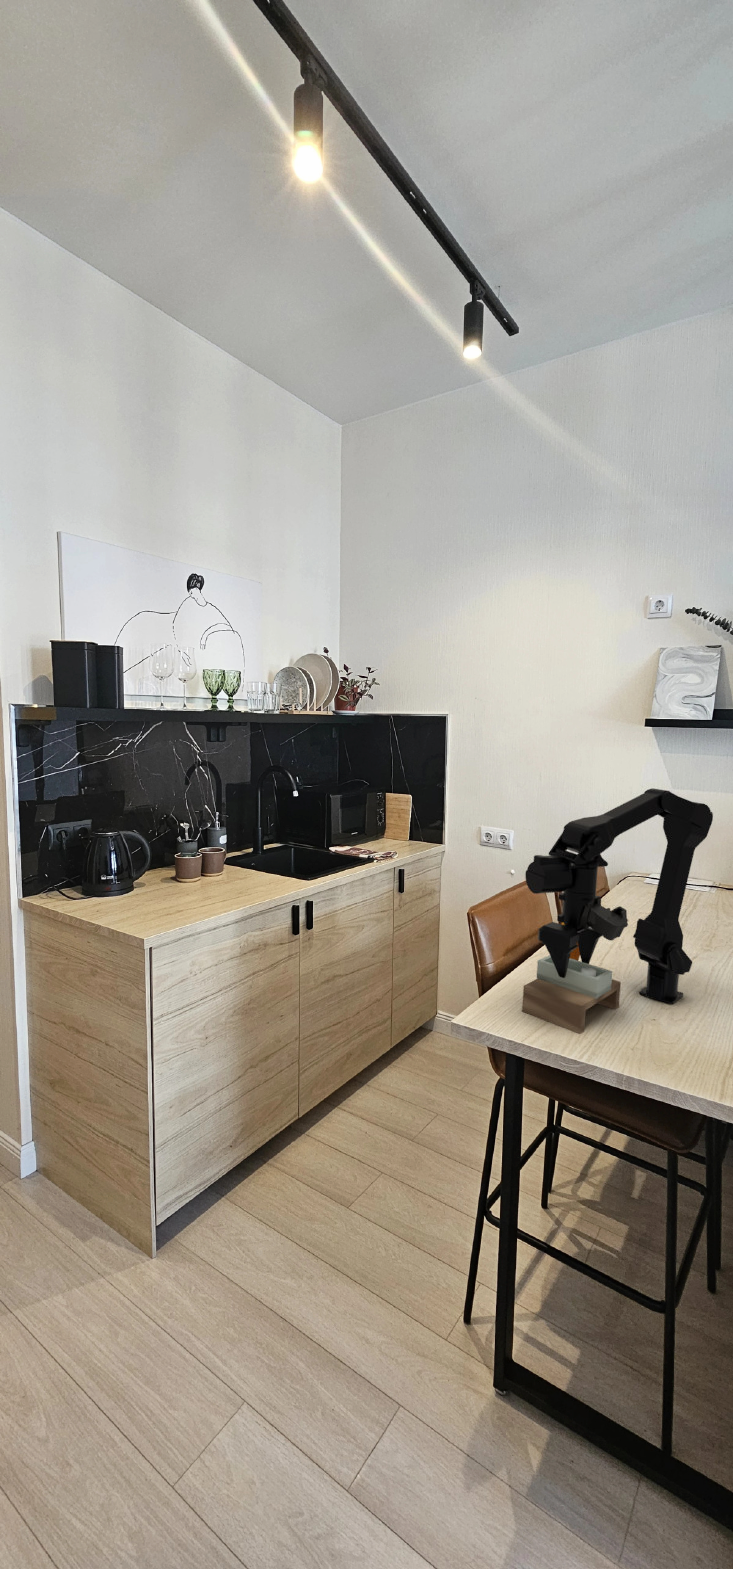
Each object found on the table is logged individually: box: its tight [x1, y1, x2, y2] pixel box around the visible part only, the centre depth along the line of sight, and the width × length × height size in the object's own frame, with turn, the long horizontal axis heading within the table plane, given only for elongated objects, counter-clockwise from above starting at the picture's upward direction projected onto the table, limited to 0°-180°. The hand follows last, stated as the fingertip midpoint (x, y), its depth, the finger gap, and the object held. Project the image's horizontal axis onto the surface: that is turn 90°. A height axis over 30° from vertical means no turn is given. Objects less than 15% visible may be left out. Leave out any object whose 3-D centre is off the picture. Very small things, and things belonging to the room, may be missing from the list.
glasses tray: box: [536, 954, 613, 999], centre depth 124 cm, size 6×12×4 cm, turn 45°
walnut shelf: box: [521, 978, 622, 1034], centre depth 125 cm, size 16×12×5 cm
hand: (574, 970), depth 124 cm, fingers open, 9 cm apart
